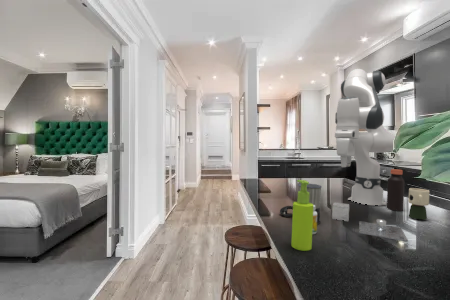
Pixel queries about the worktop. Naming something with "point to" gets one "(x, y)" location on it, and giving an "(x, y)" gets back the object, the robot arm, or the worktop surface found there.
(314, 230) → the supplement bottle
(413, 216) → the character mug
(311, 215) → the soap dispenser
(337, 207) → the chalk-like cube
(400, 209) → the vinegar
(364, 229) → the plate
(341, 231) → the worktop surface
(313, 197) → the milk frother
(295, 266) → the worktop surface
